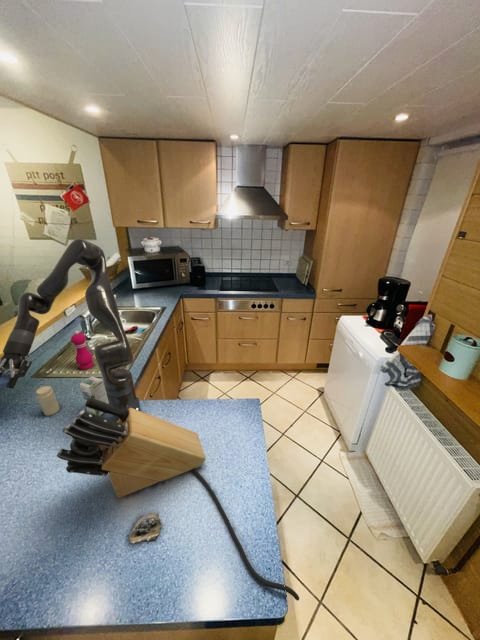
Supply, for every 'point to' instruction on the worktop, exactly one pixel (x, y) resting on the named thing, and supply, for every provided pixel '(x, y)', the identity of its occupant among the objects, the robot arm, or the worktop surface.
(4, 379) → the lid
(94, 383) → the syrup box
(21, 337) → the robot arm
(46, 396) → the jar
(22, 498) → the worktop surface
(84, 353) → the pepper mill
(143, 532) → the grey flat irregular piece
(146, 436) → the knife block
